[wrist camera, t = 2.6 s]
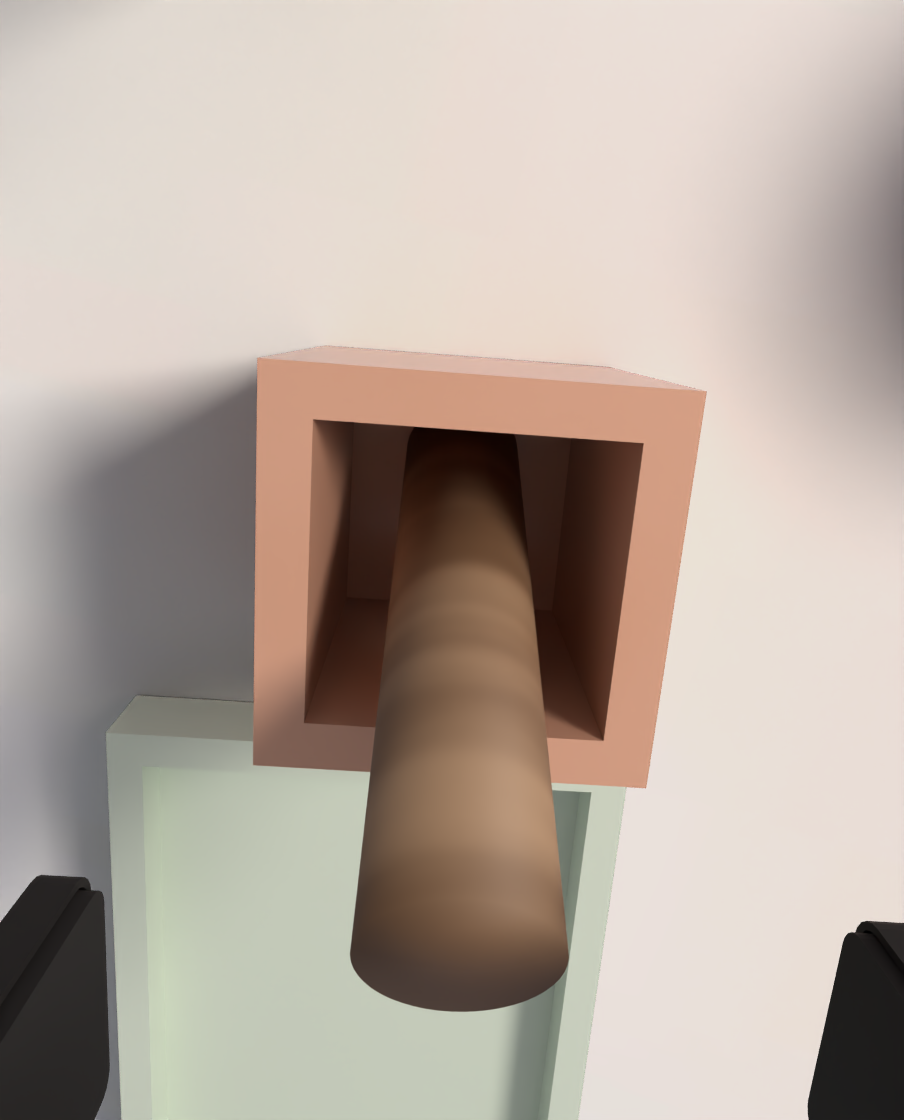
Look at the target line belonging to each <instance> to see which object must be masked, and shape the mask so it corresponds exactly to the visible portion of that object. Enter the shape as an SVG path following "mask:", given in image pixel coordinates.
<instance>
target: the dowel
mask: <svg viewBox="0 0 904 1120" xmlns="http://www.w3.org/2000/svg"><path fill="white" fill-rule="evenodd" d="M350 960H351V964H352V966H353V969H354V970H355V972H356V973H357V975H358V976H359V977H360V978H361V980H362V981H363V982H364V983H366V984H367V985H368V986H369V987H371V988H372V989H374V990H375V991H377V992H378V993H380V994H382V995H384V996H386V997H388V998H390V999H393V1000H395V1001H398V1002H401V1003H404V1004H407V1005H411V1006H415V1007H419V1008H424V1009H430V1010H437V1011H449V1012H474V1011H485V1010H493V1009H498V1008H504V1007H508V1006H511V1005H515V1004H518V1003H521V1002H524V1001H527V1000H529V999H531V998H534V997H536V996H538V995H540V994H541V993H543V992H545V991H546V990H548V989H549V988H550V987H552V986H553V985H554V984H555V983H556V982H557V981H558V980H559V979H560V978H561V976H562V975H563V974H564V972H565V970H566V968H567V965H568V960H569V952H568V941H567V932H566V922H565V912H564V902H563V892H562V882H561V873H560V863H559V853H558V843H557V833H556V823H555V814H554V804H553V794H552V784H551V774H550V764H549V754H548V745H547V735H546V725H545V715H544V705H543V695H542V686H541V676H540V666H539V656H538V646H537V636H536V627H535V617H534V607H533V597H532V587H531V577H530V567H529V558H528V548H527V538H526V528H525V518H524V508H523V499H522V489H521V479H520V469H519V459H518V449H517V442H516V438H515V436H514V434H510V433H496V432H482V431H469V430H455V429H441V428H427V427H414V428H413V430H412V432H411V434H410V436H409V440H408V444H407V452H406V461H405V470H404V479H403V487H402V496H401V505H400V514H399V523H398V532H397V541H396V549H395V558H394V567H393V576H392V585H391V594H390V603H389V611H388V620H387V629H386V638H385V647H384V656H383V665H382V673H381V682H380V691H379V700H378V709H377V718H376V726H375V735H374V744H373V753H372V762H371V771H370V780H369V788H368V797H367V806H366V815H365V824H364V833H363V842H362V850H361V859H360V868H359V877H358V886H357V895H356V904H355V912H354V921H353V930H352V939H351V948H350Z"/></svg>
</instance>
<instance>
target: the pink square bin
mask: <svg viewBox="0 0 904 1120" xmlns="http://www.w3.org/2000/svg"><path fill="white" fill-rule="evenodd" d="M706 393H707V391H703V390H699V389H695V388H691V387H687V386H683V385H679V384H675V383H671V382H667V381H663V380H659V379H655V378H651V377H647V376H643V375H639V374H635V373H631V372H627V371H623V370H619V369H614V368H610V367H601V366H588V365H575V364H561V363H548V362H535V361H522V360H508V359H495V358H482V357H469V356H455V355H442V354H429V353H416V352H402V351H389V350H376V349H363V348H349V347H336V346H320V347H314V348H309V349H303V350H298V351H292V352H287V353H281V354H276V355H270V356H265V357H259V358H257V443H256V532H255V622H254V711H253V765H256V766H273V767H290V768H308V769H325V770H342V771H359V772H370V771H371V762H372V753H373V744H374V735H375V726H376V718H377V709H378V700H379V691H380V682H381V673H382V665H383V656H384V647H385V638H386V629H387V620H388V611H389V603H390V594H391V585H392V576H393V567H394V558H395V549H396V541H397V532H398V523H399V514H400V505H401V496H402V487H403V479H404V470H405V461H406V452H407V444H408V440H409V436H410V434H411V432H412V430H413V428H414V427H427V428H441V429H455V430H469V431H482V432H496V433H510V434H514V436H515V438H516V442H517V449H518V459H519V469H520V479H521V489H522V499H523V508H524V518H525V528H526V538H527V548H528V558H529V567H530V577H531V587H532V597H533V607H534V617H535V627H536V636H537V646H538V656H539V666H540V676H541V686H542V695H543V705H544V715H545V725H546V735H547V745H548V754H549V764H550V774H551V783H565V784H583V785H600V786H617V787H634V788H646V785H647V779H648V772H649V766H650V759H651V753H652V746H653V740H654V733H655V726H656V720H657V713H658V707H659V700H660V694H661V687H662V681H663V674H664V668H665V661H666V654H667V648H668V641H669V635H670V628H671V622H672V615H673V609H674V602H675V596H676V589H677V582H678V576H679V569H680V563H681V556H682V550H683V543H684V537H685V530H686V524H687V517H688V510H689V504H690V497H691V491H692V484H693V478H694V471H695V465H696V458H697V452H698V445H699V438H700V432H701V425H702V419H703V412H704V406H705V399H706Z"/></svg>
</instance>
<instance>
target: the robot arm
mask: <svg viewBox="0 0 904 1120" xmlns="http://www.w3.org/2000/svg"><path fill="white" fill-rule="evenodd" d="M109 1066H110V1063H109V1034H108V1004H107V974H106V945H105V915H104V897H103V894H102V892H100V891H93V890H91V887H90V883H89V881H88V879H86V878H84V877H67V876H49V875H40V876H37V877H36V878H35V879H34V880H33V881H32V882H31V883H30V884H29V886H28V887H27V888H26V890H25V891H24V892H23V893H22V895H21V896H20V897H19V899H18V900H17V901H16V903H15V904H14V905H13V907H12V908H11V909H10V911H9V912H8V913H7V914H6V916H5V917H4V918H3V920H2V921H1V922H0V1120H94V1119H95V1117H96V1115H97V1112H98V1110H99V1108H100V1106H101V1103H102V1101H103V1098H104V1095H105V1091H106V1088H107V1083H108V1077H109ZM808 1117H809V1120H904V923H892V922H874V921H865V922H861V924H860V925H859V926H858V927H857V930H856V932H855V933H853V932H851V933H848V934H847V935H846V936H845V938H844V941H843V945H842V949H841V954H840V958H839V963H838V968H837V972H836V977H835V981H834V986H833V990H832V995H831V999H830V1004H829V1008H828V1013H827V1017H826V1022H825V1026H824V1031H823V1035H822V1040H821V1045H820V1049H819V1054H818V1058H817V1063H816V1067H815V1072H814V1076H813V1081H812V1085H811V1090H810V1094H809V1099H808Z"/></svg>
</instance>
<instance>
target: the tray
mask: <svg viewBox="0 0 904 1120" xmlns="http://www.w3.org/2000/svg"><path fill="white" fill-rule="evenodd" d="M253 711H254V702H239V701H223V700H207V699H190V698H174V697H157V696H141V695H136V696H135V697H134V699H133V700H132V701H131V702H130V703H129V705H128V706H127V707H126V708H125V710H124V711H123V712H122V713H121V715H120V716H119V717H118V718H117V719H116V721H115V722H114V723H113V724H112V726H111V727H110V728H109V729H108V730H107V732H106V755H107V779H108V804H109V828H110V853H111V877H112V902H113V926H114V950H115V975H116V999H117V1024H118V1048H119V1073H120V1097H121V1120H578V1117H579V1110H580V1103H581V1096H582V1089H583V1082H584V1075H585V1068H586V1062H587V1055H588V1048H589V1041H590V1034H591V1027H592V1020H593V1014H594V1007H595V1000H596V993H597V986H598V979H599V972H600V966H601V959H602V952H603V945H604V938H605V931H606V924H607V917H608V911H609V904H610V897H611V890H612V883H613V876H614V869H615V863H616V856H617V849H618V842H619V835H620V828H621V821H622V815H623V808H624V801H625V794H626V787H617V786H600V785H583V784H565V783H551V784H552V794H553V804H554V814H555V823H556V833H557V843H558V853H559V863H560V873H561V882H562V892H563V902H564V912H565V922H566V932H567V941H568V952H569V960H568V965H567V968H566V970H565V972H564V974H563V975H562V976H561V978H560V979H559V980H558V981H557V982H556V983H555V984H554V985H553V986H552V987H550V988H549V989H548V990H546V991H545V992H543V993H541V994H540V995H538V996H536V997H534V998H531V999H529V1000H527V1001H524V1002H521V1003H518V1004H515V1005H511V1006H508V1007H504V1008H498V1009H493V1010H485V1011H474V1012H449V1011H437V1010H430V1009H424V1008H419V1007H415V1006H411V1005H407V1004H404V1003H401V1002H398V1001H395V1000H393V999H390V998H388V997H386V996H384V995H382V994H380V993H378V992H377V991H375V990H374V989H372V988H371V987H369V986H368V985H367V984H366V983H364V982H363V981H362V980H361V978H360V977H359V976H358V975H357V973H356V972H355V970H354V969H353V966H352V964H351V960H350V948H351V939H352V930H353V921H354V912H355V904H356V895H357V886H358V877H359V868H360V859H361V850H362V842H363V833H364V824H365V815H366V806H367V797H368V788H369V780H370V772H359V771H342V770H325V769H308V768H290V767H273V766H256V765H253Z"/></svg>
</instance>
